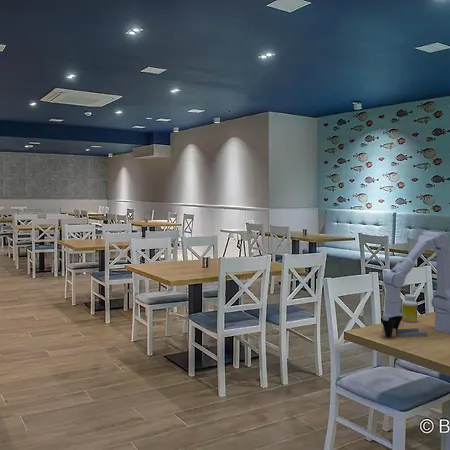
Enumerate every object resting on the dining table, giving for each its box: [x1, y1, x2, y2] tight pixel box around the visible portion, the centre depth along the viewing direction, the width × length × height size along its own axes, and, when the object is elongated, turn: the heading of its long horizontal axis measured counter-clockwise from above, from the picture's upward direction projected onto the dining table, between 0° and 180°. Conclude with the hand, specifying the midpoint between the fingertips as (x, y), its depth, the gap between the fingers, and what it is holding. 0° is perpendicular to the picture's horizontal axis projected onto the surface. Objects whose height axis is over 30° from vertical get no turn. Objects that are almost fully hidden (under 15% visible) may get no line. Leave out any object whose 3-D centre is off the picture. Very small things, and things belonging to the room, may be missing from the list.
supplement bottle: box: [401, 293, 419, 324], centre depth 228 cm, size 7×7×13 cm
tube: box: [396, 327, 428, 338], centre depth 206 cm, size 11×6×3 cm, turn 103°
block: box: [381, 326, 397, 338], centre depth 204 cm, size 4×4×4 cm
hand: (391, 334), depth 204 cm, fingers closed on block, 6 cm apart
